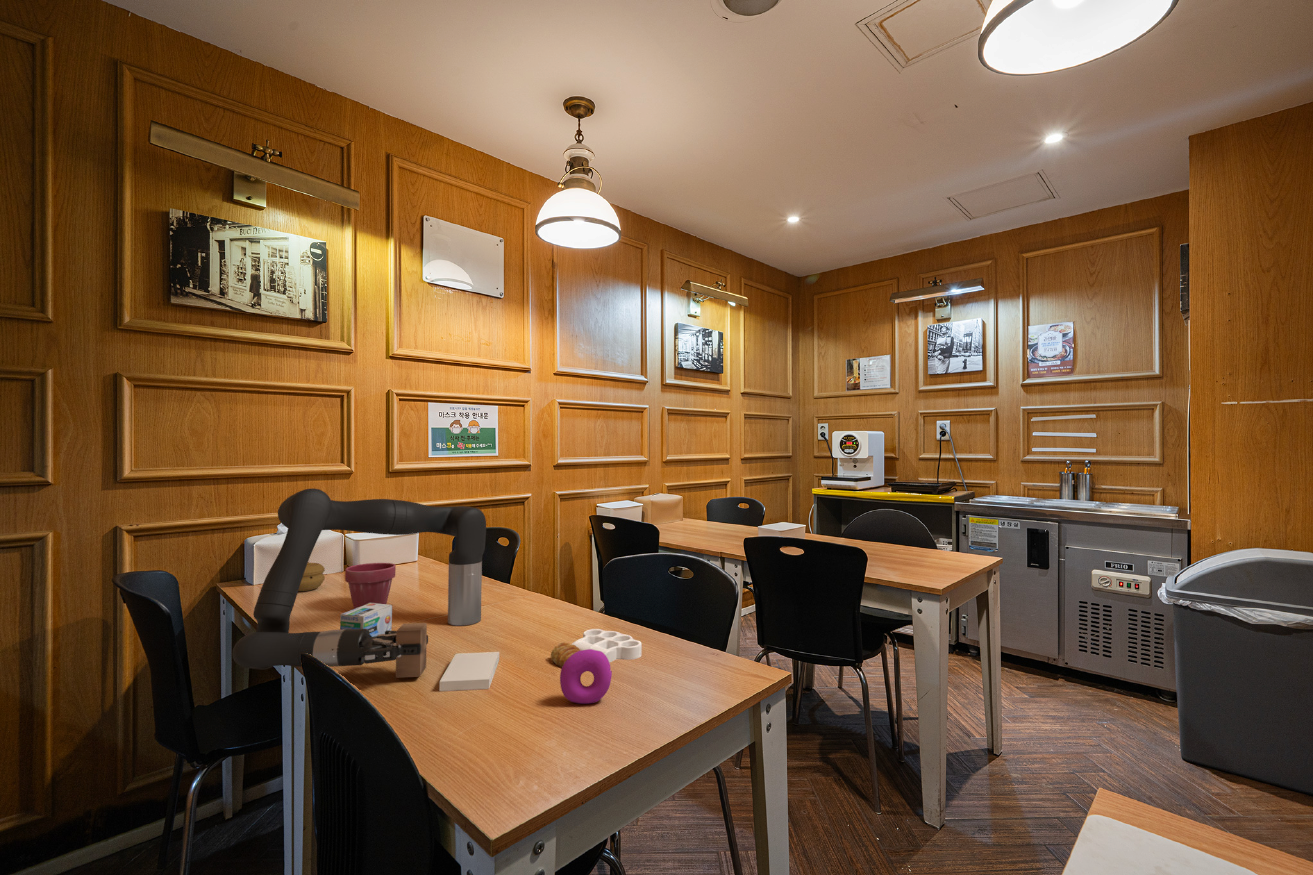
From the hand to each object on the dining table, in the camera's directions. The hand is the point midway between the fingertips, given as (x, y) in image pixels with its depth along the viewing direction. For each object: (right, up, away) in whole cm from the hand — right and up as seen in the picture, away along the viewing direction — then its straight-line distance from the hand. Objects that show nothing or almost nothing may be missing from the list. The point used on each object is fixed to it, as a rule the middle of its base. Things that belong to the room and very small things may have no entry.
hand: (424, 644), depth 124 cm
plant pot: (-39, -8, +53) cm, 66 cm away
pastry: (+31, -8, +9) cm, 33 cm away
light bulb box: (-20, -7, +14) cm, 26 cm away
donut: (+37, -7, -11) cm, 39 cm away
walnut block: (-3, -6, 0) cm, 7 cm away
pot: (-72, -8, +73) cm, 103 cm away
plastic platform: (+10, -7, +1) cm, 12 cm away
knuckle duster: (+39, -8, +17) cm, 43 cm away
